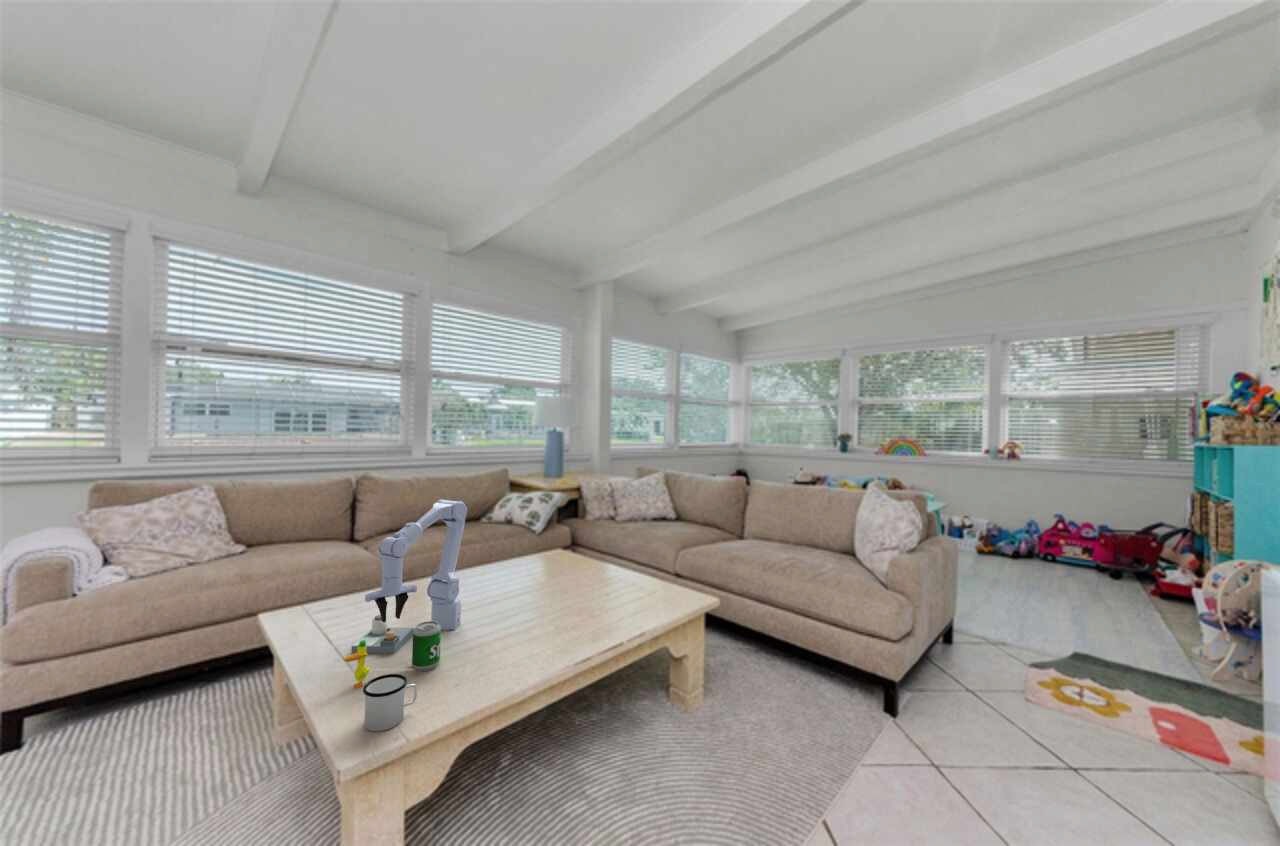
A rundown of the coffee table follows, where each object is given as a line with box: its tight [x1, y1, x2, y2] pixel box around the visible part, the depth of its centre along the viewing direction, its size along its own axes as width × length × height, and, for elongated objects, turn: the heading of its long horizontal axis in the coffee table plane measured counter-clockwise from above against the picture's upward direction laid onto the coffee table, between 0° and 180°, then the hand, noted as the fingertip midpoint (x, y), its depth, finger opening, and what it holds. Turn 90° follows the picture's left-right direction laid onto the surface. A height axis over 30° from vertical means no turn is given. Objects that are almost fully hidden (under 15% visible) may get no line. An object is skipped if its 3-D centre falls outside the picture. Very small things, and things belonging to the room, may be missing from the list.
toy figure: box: [343, 640, 372, 689], centre depth 131 cm, size 7×4×12 cm, turn 132°
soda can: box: [411, 620, 442, 672], centre depth 142 cm, size 8×8×12 cm
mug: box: [362, 673, 418, 732], centre depth 117 cm, size 12×10×9 cm
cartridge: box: [371, 614, 389, 635], centre depth 159 cm, size 4×4×7 cm
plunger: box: [385, 631, 395, 641], centre depth 151 cm, size 3×3×2 cm
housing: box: [351, 627, 414, 654], centre depth 156 cm, size 13×14×4 cm
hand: (390, 619), depth 151 cm, fingers open, 3 cm apart
